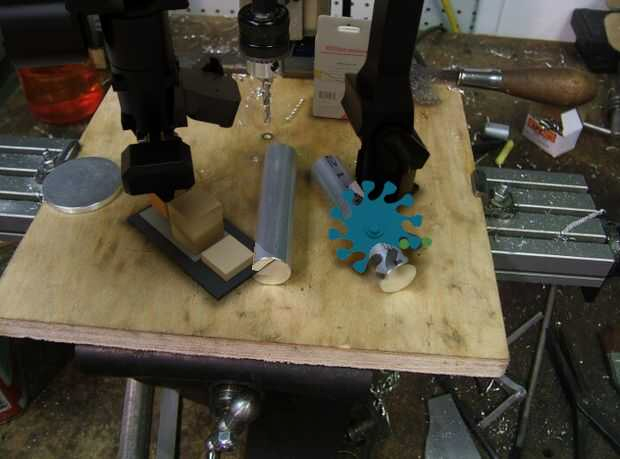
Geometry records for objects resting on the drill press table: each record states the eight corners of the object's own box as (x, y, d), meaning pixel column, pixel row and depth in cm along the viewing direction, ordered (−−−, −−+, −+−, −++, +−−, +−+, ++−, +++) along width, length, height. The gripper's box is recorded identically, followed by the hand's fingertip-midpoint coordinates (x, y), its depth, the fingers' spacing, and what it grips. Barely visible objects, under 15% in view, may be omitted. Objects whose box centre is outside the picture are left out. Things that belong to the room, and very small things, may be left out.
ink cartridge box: (372, 104, 83) (386, 5, 72) (371, 122, 79) (384, 22, 69) (315, 98, 83) (320, -1, 73) (311, 116, 80) (315, 15, 69)
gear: (312, 254, 59) (347, 165, 58) (318, 252, 65) (350, 171, 64) (412, 294, 57) (448, 203, 57) (409, 288, 63) (441, 205, 63)
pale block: (224, 237, 62) (221, 203, 58) (196, 255, 60) (190, 222, 56) (202, 218, 64) (197, 185, 60) (173, 236, 62) (166, 202, 58)
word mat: (275, 259, 60) (275, 249, 59) (217, 300, 56) (216, 290, 55) (184, 188, 68) (182, 178, 67) (127, 220, 64) (124, 210, 62)
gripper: (247, 102, 45) (254, 237, 56) (219, 5, 58) (229, 130, 69) (103, 116, 43) (140, 253, 54) (107, 12, 56) (136, 140, 67)
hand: (167, 187), depth 61 cm, fingers closed on supplement box, 4 cm apart
